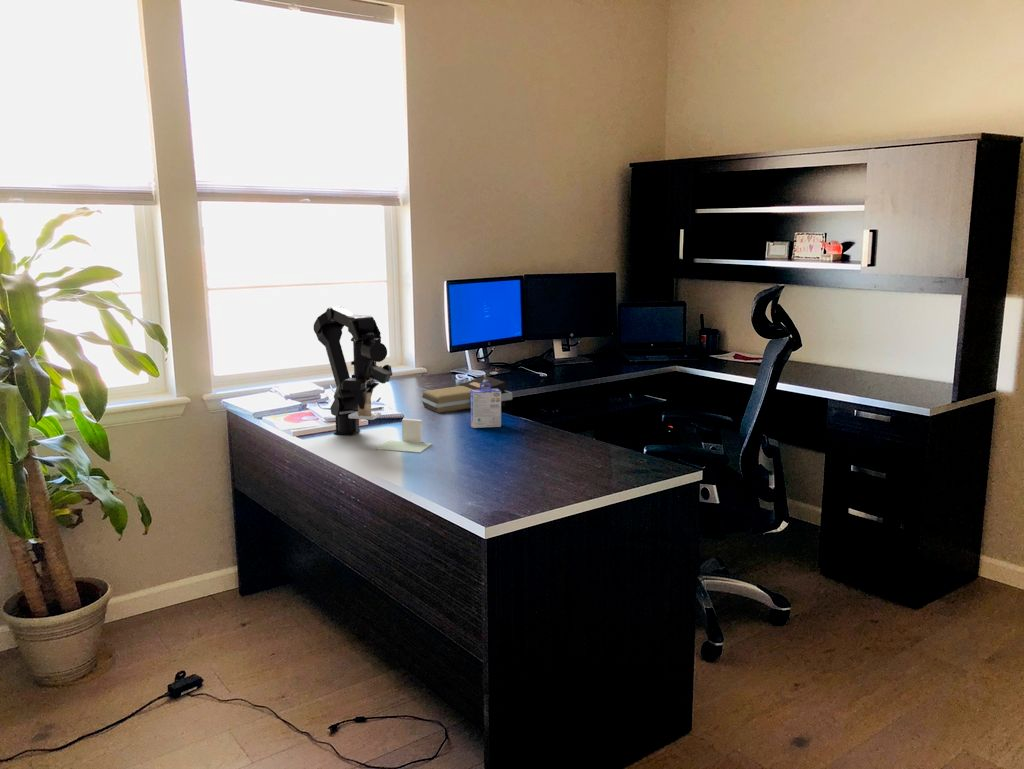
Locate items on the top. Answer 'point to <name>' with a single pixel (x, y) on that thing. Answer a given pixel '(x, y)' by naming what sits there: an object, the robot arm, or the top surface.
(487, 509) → the top surface
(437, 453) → the top surface
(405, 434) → the tile
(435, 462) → the top surface
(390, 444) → the mat
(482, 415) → the ink cartridge box
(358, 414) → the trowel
